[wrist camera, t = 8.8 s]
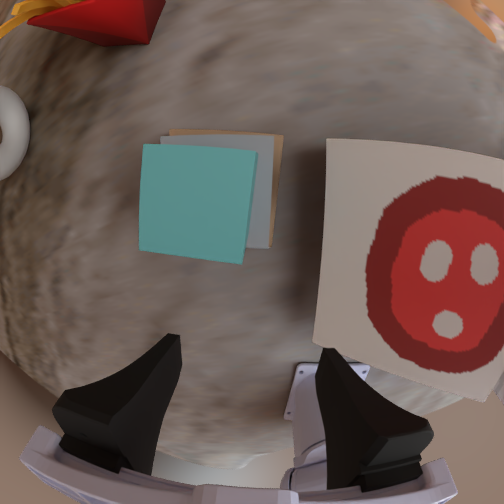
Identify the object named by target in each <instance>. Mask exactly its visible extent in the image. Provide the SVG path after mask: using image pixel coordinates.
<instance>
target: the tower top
mask: <svg viewBox="0 0 504 504" xmlns="http://www.w3.org/2000/svg"><path fill="white" fill-rule="evenodd" d="M160 144H170V145H191V146H207V147H220V148H231V149H241V150H250V151H256V152H257V153H258V162H257V170H256V178H255V186H254V194H253V202H252V210H251V218H250V226H249V234H248V239H247V244H246V248H261V249H268V247H269V230H270V213H271V194H272V174H273V153H274V136H265V135H232V134H211V135H178V136H161V137H160Z"/></svg>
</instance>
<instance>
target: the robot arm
mask: <svg viewBox="0 0 504 504" xmlns="http://www.w3.org/2000/svg"><path fill="white" fill-rule="evenodd" d="M181 368H182V356H181V344H180V335H176V334H170V333H168V334H167V335H166V336H165V337H163V338H162V339H161V340H160V341H159V342H158V343H157V344H156V345H154V346H153V347H152V348H151V349H150V350H148V351H147V352H146V353H145V354H144V355H142V356H141V357H140V358H138V359H137V360H136V361H134V362H133V363H132V364H130V365H129V366H127V367H125V368H124V369H122V370H120V371H119V372H117V373H115V374H113V375H111V376H109V377H106V378H104V379H102V380H100V381H97V382H94V383H91V384H88V385H85V386H82V387H77V388H73V389H68V390H65V391H64V392H63V394H62V395H61V396H60V398H59V399H58V401H57V402H56V404H55V405H54V407H53V409H52V412H53V415H54V417H55V419H56V421H57V422H58V424H59V425H60V427H61V428H62V430H63V431H64V433H65V434H64V436H63V437H61V436H59V435H58V434H57V433H55V432H53V431H51V430H49V429H47V428H46V427H44V426H42V425H39V426H38V428H37V429H36V431H35V432H34V434H33V436H32V437H31V439H30V440H29V442H28V444H27V445H26V447H25V449H24V450H23V452H22V453H21V455H20V457H19V460H20V461H21V462H22V463H23V464H24V465H25V466H26V467H27V468H28V469H30V471H32V472H33V473H34V474H35V475H36V476H37V477H38V478H39V479H40V480H41V481H43V482H44V483H45V484H47V485H49V486H51V487H52V488H54V489H56V490H57V491H59V492H61V493H63V494H64V495H66V496H68V497H70V498H72V499H74V500H75V501H77V502H79V503H81V504H444V503H445V502H447V501H448V500H450V499H451V498H453V497H454V496H455V495H457V493H458V491H457V489H456V486H455V484H454V481H453V478H452V476H451V474H450V471H449V469H448V466H447V464H446V461H445V459H444V458H440V459H437V460H434V461H431V462H428V463H426V464H424V465H422V466H420V463H419V461H421V459H422V458H421V455H420V453H421V452H422V451H423V450H424V449H425V448H426V447H427V446H428V444H429V443H430V442H431V441H432V439H433V436H434V432H433V430H432V428H431V426H430V424H429V422H428V420H427V419H425V418H422V417H419V416H417V415H414V414H412V413H410V412H408V411H406V410H404V409H402V408H400V407H398V406H397V405H395V404H393V403H392V402H390V401H389V400H387V399H386V398H384V397H383V396H381V395H380V394H379V393H378V392H376V391H375V390H374V389H373V388H371V387H370V386H369V385H368V384H367V383H366V382H365V381H364V380H365V378H366V376H367V374H368V371H369V369H370V365H367V364H365V363H353V364H348V363H347V362H346V361H345V359H344V358H343V357H342V356H341V355H340V354H339V352H338V351H337V350H336V349H335V348H323V351H322V354H321V357H320V361H319V364H314V363H301V364H299V365H297V368H296V372H295V376H294V380H293V384H292V387H291V391H290V395H289V398H288V402H287V406H286V409H285V413H284V419H285V420H292V427H293V439H294V452H295V457H294V468H290V469H288V470H287V471H286V472H285V474H284V477H283V478H282V480H281V484H280V489H278V488H276V489H275V488H274V489H273V488H272V489H271V488H248V487H247V488H246V487H235V486H234V487H233V486H223V485H213V484H204V485H198V486H195V485H190V484H184V483H179V482H174V481H170V480H165V479H161V478H157V477H153V476H151V473H152V467H153V461H154V456H155V450H156V446H157V441H158V437H159V433H160V429H161V425H162V421H163V418H164V415H165V412H166V410H167V407H168V405H169V402H170V400H171V397H172V395H173V392H174V390H175V387H176V385H177V382H178V379H179V376H180V372H181ZM364 370H365V371H364ZM299 371H302V372H299Z"/></svg>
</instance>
